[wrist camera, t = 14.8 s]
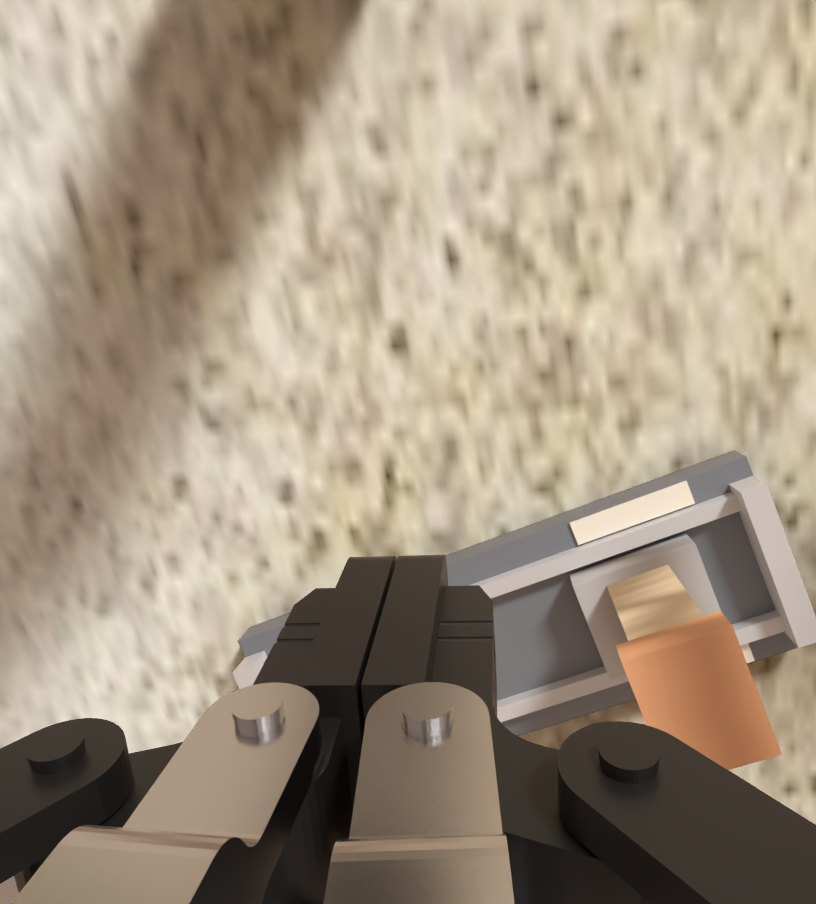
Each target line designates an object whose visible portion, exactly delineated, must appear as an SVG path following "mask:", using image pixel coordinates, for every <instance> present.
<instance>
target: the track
mask: <svg viewBox="0 0 816 904" xmlns="http://www.w3.org/2000/svg"><path fill="white" fill-rule="evenodd" d="M685 533H686V534H687V535H688V536H689V537H690V538H691V539H692V541H693V542H694V543H695V544H696V546H697V549H698V552H699V554H700V557H701V559H702V562H703V565H704V567H705V570H706V573H707V575H708V578H709V580H710V583H711V586H712V588H713V591H714V594H715V596H716V599H717V602H718V604H719V607H720V609H721V612H722V613H723V615H724V616H725V617H726V618H727V620H728V621H729V622H730V624H731V625H732V626H733V628H734V631H735V633H736V636H737V639H738V641H739V644H740V647H741V649H742V652H743V654H744V657H745V660H746V662H747V664H748V663H751V662H754V661H757V660H760V659H764V658H767V657H770V656H773V655H776V654H779V653H783V652H786V651H789V650H792V649H795V648H800V647H804V646H807V645H810V644H813V643H816V616H815V613H814V610H813V607H812V605H811V602H810V599H809V597H808V594H807V591H806V589H805V586H804V583H803V580H802V578H801V575H800V572H799V570H798V567H797V564H796V561H795V559H794V556H793V553H792V551H791V548H790V545H789V542H788V540H787V537H786V534H785V532H784V529H783V526H782V523H781V521H780V518H779V515H778V513H777V510H776V507H775V504H774V502H773V499H772V496H771V494H770V491H769V488H768V485H767V483H765V482H763V481H762V480H760V479H758V478H757V477H755V476H753V474H752V471H751V469H750V466H749V463H748V460H747V458H746V456H744V455H742V454H740V453H738V452H736V451H731V452H729V453H726V454H723V455H720V456H718V457H715V458H712V459H709V460H707V461H704V462H701V463H698V464H696V465H693V466H690V467H687V468H685V469H682V470H679V471H677V472H674V473H671V474H668V475H666V476H663V477H660V478H657V479H655V480H652V481H649V482H646V483H644V484H641V485H638V486H635V487H633V488H630V489H627V490H625V491H622V492H619V493H616V494H614V495H611V496H608V497H605V498H603V499H600V500H597V501H594V502H592V503H589V504H586V505H583V506H581V507H578V508H575V509H573V510H570V511H567V512H564V513H562V514H559V515H556V516H553V517H551V518H548V519H545V520H542V521H540V522H537V523H534V524H531V525H529V526H526V527H523V528H521V529H518V530H515V531H512V532H510V533H507V534H504V535H501V536H499V537H496V538H493V539H490V540H488V541H485V542H482V543H479V544H477V545H474V546H471V547H469V548H466V549H463V550H460V551H458V552H455V553H452V554H449V555H447V556H445V557H446V562H447V573H448V586H472V585H479V586H480V587H481V588H482V589H483V590H484V592H485V593H486V594H487V595H488V596H489V597H490V599H491V600H492V601H493V613H494V634H495V655H496V675H497V718H498V719H499V721H500V722H501V723H502V724H503V725H504V726H505V727H506V728H507V729H508V730H509V731H511V732H512V733H513V734H515V735H517V736H520V735H523V734H526V733H529V732H532V731H535V730H539V729H542V728H545V727H548V726H551V725H554V724H558V723H561V722H564V721H567V720H570V719H573V718H577V717H580V716H583V715H586V714H589V713H593V712H596V711H599V710H602V709H605V708H608V707H612V706H615V705H618V704H621V703H624V702H627V701H631V700H634V699H636V698H635V695H634V693H633V690H632V688H631V685H630V683H629V680H628V678H627V675H623V676H620V677H617V678H614V679H611V680H610V679H609V676H608V674H607V671H606V669H605V666H604V664H603V661H602V659H601V656H600V654H599V651H598V649H597V646H596V644H595V641H594V639H593V636H592V633H591V631H590V628H589V626H588V623H587V621H586V618H585V616H584V613H583V611H582V608H581V606H580V603H579V601H578V598H577V596H576V593H575V591H574V588H573V585H572V582H571V578H570V574H571V573H573V572H576V571H579V570H582V569H585V568H588V567H591V566H593V565H596V564H599V563H602V562H605V561H608V560H611V559H613V558H616V557H619V556H622V555H625V554H628V553H630V552H633V551H636V550H639V549H642V548H645V547H648V546H650V545H653V544H656V543H659V542H662V541H665V540H668V539H670V538H673V537H676V536H679V535H682V534H685ZM289 614H290V613H288V614H285V615H282V616H280V617H277V618H274V619H271V620H269V621H266V622H263V623H260V624H258V625H255V626H252V627H250V628H249V629H248V630H247V631H246V632H245V633H244V635H243V636H242V637H241V638H240V639H239V640H238V643H239V645H240V647H241V649H242V652H243V654H244V656H245V658H244V659H243V661H242V662H241V663H240V664H239V665H238V667H237V668H236V669H235V670H234V672H233V673H232V674H233V676H234V678H235V680H236V683H237V685H238V687H239V689H241V688H244V687H248V686H251V685H253V683H254V682H255V680H256V678H257V676H258V674H259V672H260V670H261V668H262V666H263V664H264V662H265V660H266V659H267V657H268V655H269V653H270V651H271V649H272V647H273V645H274V643H277V637H278V635H279V634H280V632H281V630H282V628H283V627H285V622H286V620H287V618H288V616H289Z"/></svg>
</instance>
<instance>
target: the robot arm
mask: <svg viewBox="0 0 816 904" xmlns="http://www.w3.org/2000/svg"><path fill="white" fill-rule="evenodd" d="M12 876H14V877H15V881H16V884H17V888H18V892H19V894H18V895H17V897H16V898H15V899H14V900H13V902H12V903H11V904H816V825H815V824H813V823H812V822H810V821H808V820H807V819H805V818H804V817H802V816H800V815H799V814H797V813H796V812H794V811H792V810H791V809H789V808H788V807H786V806H784V805H783V804H781V803H780V802H778V801H776V800H775V799H773V798H772V797H770V796H768V795H767V794H765V793H764V792H762V791H760V790H759V789H757V788H756V787H754V786H752V785H751V784H749V783H748V782H746V781H744V780H743V779H741V778H740V777H738V776H736V775H735V774H733V773H732V772H730V771H728V770H727V769H725V768H724V767H722V766H720V765H719V764H717V763H716V762H714V761H712V760H711V759H709V758H708V757H706V756H705V755H703V754H701V753H700V752H698V751H697V750H695V749H693V748H692V747H690V746H689V745H687V744H685V743H684V742H682V741H681V740H679V739H677V738H676V737H674V736H672V735H670V734H668V733H667V732H664V731H662V730H659V729H657V728H654V727H651V726H647V725H644V724H638V723H633V722H604V723H597V724H594V725H590V726H587V727H585V728H582V729H580V730H578V731H576V732H575V733H573V734H572V735H571V736H569V737H568V738H567V739H566V740H565V741H564V743H563V744H562V746H561V747H560V750H556V749H552V748H548V747H544V746H541V745H537V744H534V743H531V742H529V741H526V740H524V739H522V738H520V737H518V736H517V735H515V734H513V733H512V732H511V731H509V730H508V729H507V728H506V727H505V726H504V725H503V724H502V723H501V722H500V721H499V719H498V718H497V675H496V655H495V634H494V613H493V601H492V600H491V599H490V597H489V596H488V595H487V594H486V593H485V592H484V590H483V589H482V588H481V587H480V586H479V585H472V586H448V573H447V562H446V557H445V555H422V556H398V558H396V556H386V557H350V558H349V559H348V560H347V563H346V565H345V567H344V570H343V572H342V574H341V576H340V579H339V581H338V583H337V586H336V588H320V589H315V590H313V591H312V592H311V593H309V594H308V595H307V596H305V597H304V598H303V599H302V600H300V601H299V602H298V603H296V604H295V605H294V607H293V609H292V611H291V612H290V614H289V616H288V618H287V620H286V622H285V627H283V628H282V630H281V632H280V634H279V635H278V637H277V643H274V645H273V647H272V649H271V651H270V653H269V655H268V657H267V659H266V660H265V662H264V664H263V666H262V668H261V670H260V672H259V674H258V676H257V678H256V680H255V682H254V683H253V685H251V686H248V687H244V688H241V689H238V690H236V691H233V692H231V693H229V694H227V695H225V696H223V697H222V698H220V699H219V700H217V701H216V702H214V703H213V704H212V705H211V706H210V707H209V708H208V709H207V710H206V711H205V712H204V714H203V715H202V716H201V718H200V719H199V720H198V722H197V723H196V725H195V726H194V728H193V729H192V730H191V732H190V733H189V735H188V736H187V737H186V739H185V740H184V742H181V743H177V744H173V745H168V746H164V747H159V748H154V749H149V750H145V751H140V752H135V753H130V754H129V753H128V748H127V744H126V739H125V735H124V733H123V730H122V729H121V728H120V727H119V726H118V725H116V724H115V723H113V722H110V721H108V720H103V719H96V718H84V719H75V720H69V721H65V722H61V723H57V724H54V725H51V726H48V727H45V728H43V729H41V730H39V731H36V732H34V733H32V734H30V735H28V736H26V737H24V738H22V739H20V740H18V741H16V742H14V743H11V744H9V745H7V746H5V747H3V748H1V749H0V884H1V883H2V882H4V881H5V880H7V879H9V878H11V877H12Z"/></svg>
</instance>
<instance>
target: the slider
mask: <svg viewBox="0 0 816 904" xmlns="http://www.w3.org/2000/svg"><path fill="white" fill-rule="evenodd" d="M570 578H571V582H572V585H573V588H574V591H575V593H576V596H577V598H578V601H579V603H580V606H581V608H582V611H583V613H584V616H585V618H586V621H587V623H588V626H589V628H590V631H591V633H592V636H593V639H594V641H595V644H596V646H597V649H598V651H599V654H600V656H601V659H602V661H603V664H604V666H605V669H606V671H607V674H608V676H609V679H610V680H611V679H614V678H617V677H620V676H623V675H627V678H628V680H629V683H630V685H631V688H632V690H633V693H634V695H635V698H636V700H637V703H638V705H639V708H640V710H641V713H642V715H643V718H644V720H645V723H646V725H647V726H651V727H654V728H657V729H659V730H662V731H664V732H667V733H668V734H670V735H672V736H674V737H676V738H677V739H679V740H681V741H682V742H684V743H685V744H687V745H689V746H690V747H692V748H693V749H695V750H697V751H698V752H700V753H701V754H703V755H705V756H706V757H708V758H709V759H711V760H712V761H714V762H716V763H717V764H719V765H720V766H722V767H724V768H725V769H727V770H730V769H733V768H737V767H740V766H744V765H747V764H750V763H754V762H757V761H761V760H764V759H767V758H771V757H774V756H778V755H781V752H780V749H779V747H778V744H777V741H776V739H775V736H774V733H773V731H772V728H771V725H770V723H769V720H768V718H767V715H766V712H765V710H764V707H763V704H762V702H761V699H760V697H759V694H758V691H757V689H756V686H755V683H754V681H753V678H752V676H751V673H750V670H749V668H748V665H747V662H746V660H745V657H744V654H743V652H742V649H741V647H740V644H739V641H738V639H737V636H736V633H735V631H734V628H733V626H732V625H731V624H730V622H729V621H728V620H727V618H726V617H725V616H724V615H723V613H722V612H721V609H720V607H719V604H718V602H717V599H716V596H715V594H714V591H713V588H712V586H711V583H710V580H709V578H708V575H707V573H706V570H705V567H704V565H703V562H702V559H701V557H700V554H699V552H698V549H697V546H696V544H695V543H694V542H693V541H692V539H691V538H690V537H689V536H688V535H687V534H686V533H685V534H682V535H679V536H676V537H673V538H670V539H668V540H665V541H662V542H659V543H656V544H653V545H650V546H648V547H645V548H642V549H639V550H636V551H633V552H630V553H628V554H625V555H622V556H619V557H616V558H613V559H611V560H608V561H605V562H602V563H599V564H596V565H593V566H591V567H588V568H585V569H582V570H579V571H576V572H573V573H571V574H570Z"/></svg>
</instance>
